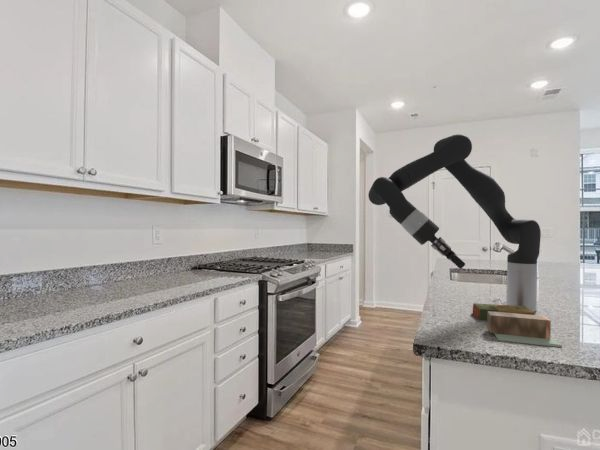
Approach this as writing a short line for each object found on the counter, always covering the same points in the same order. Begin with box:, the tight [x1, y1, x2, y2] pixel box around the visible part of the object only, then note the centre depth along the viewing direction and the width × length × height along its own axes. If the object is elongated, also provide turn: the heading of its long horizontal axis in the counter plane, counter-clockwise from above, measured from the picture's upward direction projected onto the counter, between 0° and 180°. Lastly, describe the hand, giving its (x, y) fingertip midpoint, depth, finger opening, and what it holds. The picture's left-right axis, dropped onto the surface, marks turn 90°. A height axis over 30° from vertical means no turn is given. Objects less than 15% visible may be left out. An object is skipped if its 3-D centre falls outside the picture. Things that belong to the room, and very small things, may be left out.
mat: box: [494, 334, 563, 348], centre depth 93 cm, size 14×13×1 cm
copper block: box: [486, 311, 552, 339], centre depth 93 cm, size 5×5×14 cm
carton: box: [472, 302, 536, 321], centre depth 111 cm, size 8×16×4 cm, turn 76°
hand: (462, 266), depth 101 cm, fingers closed
